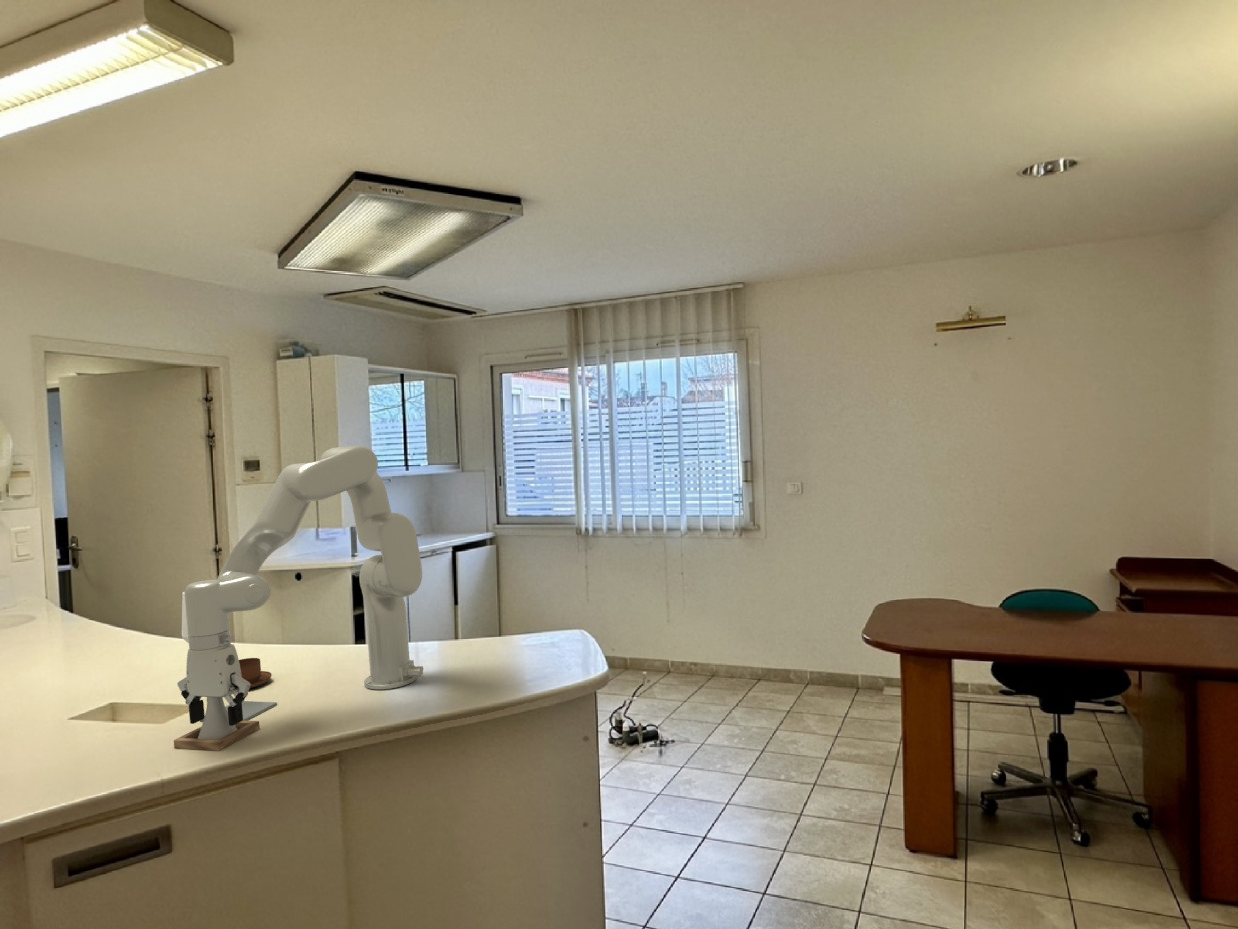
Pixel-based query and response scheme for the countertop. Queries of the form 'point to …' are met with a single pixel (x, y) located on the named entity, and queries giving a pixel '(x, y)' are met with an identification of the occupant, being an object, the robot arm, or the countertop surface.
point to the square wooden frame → (193, 742)
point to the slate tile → (253, 708)
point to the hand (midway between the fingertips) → (216, 722)
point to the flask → (215, 720)
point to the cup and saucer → (253, 672)
